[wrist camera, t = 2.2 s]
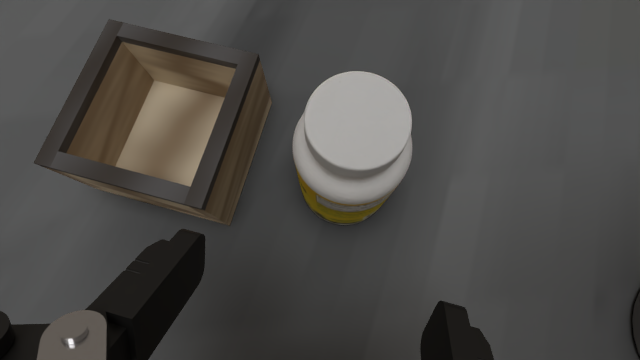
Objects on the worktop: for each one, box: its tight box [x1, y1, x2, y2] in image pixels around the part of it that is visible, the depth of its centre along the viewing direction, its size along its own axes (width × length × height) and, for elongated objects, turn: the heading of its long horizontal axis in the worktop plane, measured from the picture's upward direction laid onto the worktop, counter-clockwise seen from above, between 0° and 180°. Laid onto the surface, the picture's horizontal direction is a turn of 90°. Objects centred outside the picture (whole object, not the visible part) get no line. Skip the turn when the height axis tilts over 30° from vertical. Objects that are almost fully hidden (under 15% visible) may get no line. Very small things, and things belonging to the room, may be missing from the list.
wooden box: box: [34, 19, 272, 226], centre depth 23 cm, size 10×10×6 cm
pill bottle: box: [293, 71, 412, 225], centre depth 20 cm, size 6×6×11 cm
